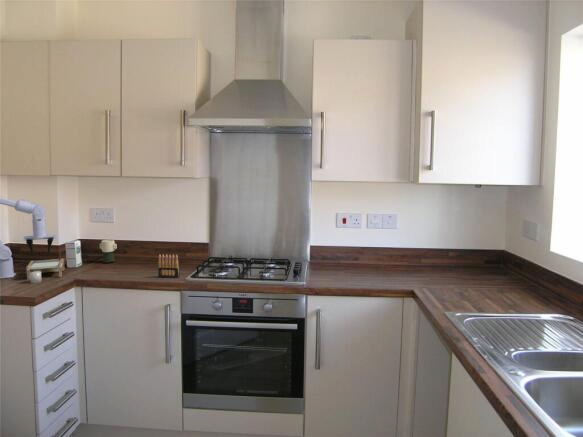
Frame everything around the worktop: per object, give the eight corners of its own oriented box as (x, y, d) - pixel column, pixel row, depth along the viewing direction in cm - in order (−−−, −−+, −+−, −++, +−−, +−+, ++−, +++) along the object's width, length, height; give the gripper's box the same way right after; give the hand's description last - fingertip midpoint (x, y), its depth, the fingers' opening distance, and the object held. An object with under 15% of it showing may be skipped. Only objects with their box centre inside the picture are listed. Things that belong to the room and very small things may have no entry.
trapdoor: (34, 264, 227) (34, 260, 227) (60, 262, 232) (60, 258, 232) (30, 269, 215) (30, 265, 215) (57, 267, 220) (57, 263, 220)
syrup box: (77, 267, 241) (75, 241, 239) (66, 267, 241) (65, 241, 240) (82, 265, 247) (80, 240, 245) (72, 265, 247) (70, 240, 245)
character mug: (120, 261, 256) (119, 239, 255) (113, 264, 249) (112, 241, 248) (104, 260, 258) (103, 239, 257) (96, 263, 251) (95, 241, 250)
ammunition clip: (158, 277, 220) (157, 254, 218) (159, 276, 221) (158, 253, 220) (178, 278, 218) (177, 254, 217) (179, 277, 220) (179, 253, 219)
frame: (27, 280, 215) (26, 267, 214) (32, 272, 229) (31, 260, 228) (61, 276, 220) (60, 264, 220) (64, 270, 235) (63, 258, 234)
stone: (29, 283, 208) (28, 273, 207) (31, 281, 212) (30, 271, 211) (40, 282, 210) (40, 272, 209) (42, 280, 214) (41, 270, 213)
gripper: (21, 229, 222) (23, 255, 223) (53, 227, 227) (55, 253, 229) (24, 227, 228) (26, 252, 230) (55, 226, 234) (56, 250, 235)
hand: (40, 252), depth 230 cm, fingers open, 7 cm apart
